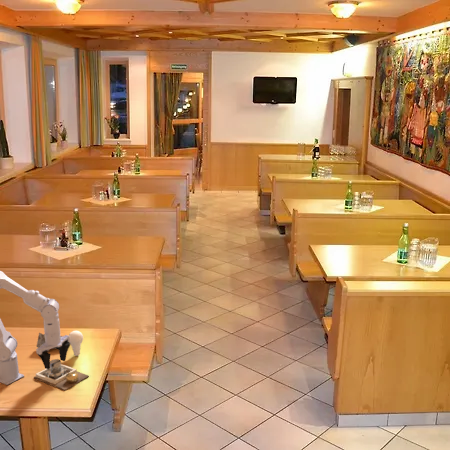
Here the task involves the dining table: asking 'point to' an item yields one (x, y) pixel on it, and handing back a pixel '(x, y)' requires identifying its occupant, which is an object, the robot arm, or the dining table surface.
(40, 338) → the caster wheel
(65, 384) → the carrier board
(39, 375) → the carrier pocket
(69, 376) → the golden brown dome
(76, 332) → the lightbulb
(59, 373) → the planet gear
